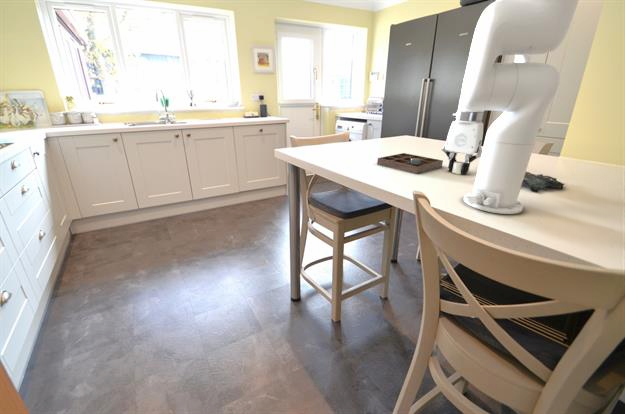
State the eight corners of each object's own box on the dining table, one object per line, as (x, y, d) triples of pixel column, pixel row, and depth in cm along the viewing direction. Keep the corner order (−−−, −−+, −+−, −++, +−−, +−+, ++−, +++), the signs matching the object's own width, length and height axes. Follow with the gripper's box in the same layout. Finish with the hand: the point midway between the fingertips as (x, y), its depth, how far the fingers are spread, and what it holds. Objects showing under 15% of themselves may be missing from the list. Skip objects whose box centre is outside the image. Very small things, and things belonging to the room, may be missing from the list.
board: (416, 174, 96) (417, 166, 95) (376, 164, 108) (377, 158, 108) (441, 167, 106) (443, 160, 105) (403, 158, 118) (403, 152, 117)
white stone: (460, 174, 96) (462, 164, 95) (449, 172, 99) (451, 162, 98) (465, 173, 98) (467, 162, 97) (454, 170, 101) (456, 160, 100)
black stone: (416, 170, 97) (417, 160, 96) (407, 168, 100) (408, 158, 99) (421, 169, 100) (423, 159, 98) (412, 167, 102) (414, 157, 101)
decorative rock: (519, 162, 97) (575, 168, 86) (515, 179, 99) (570, 187, 88) (494, 165, 87) (556, 172, 75) (490, 185, 88) (550, 195, 77)
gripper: (439, 116, 96) (429, 169, 102) (492, 120, 84) (477, 179, 91) (449, 115, 100) (440, 166, 107) (501, 119, 88) (487, 176, 95)
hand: (457, 171), depth 99 cm, fingers closed on white stone, 3 cm apart
